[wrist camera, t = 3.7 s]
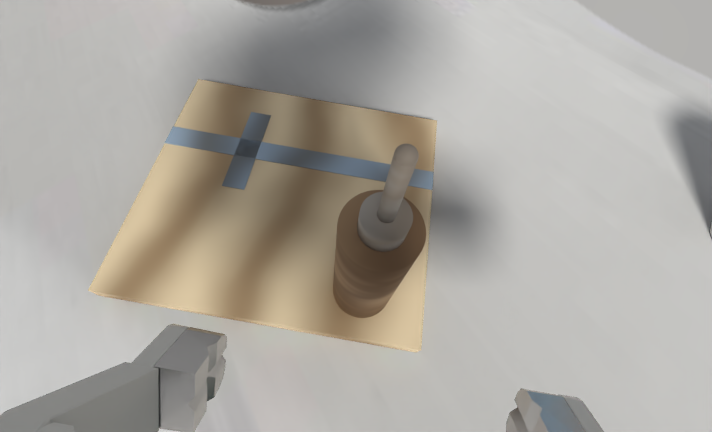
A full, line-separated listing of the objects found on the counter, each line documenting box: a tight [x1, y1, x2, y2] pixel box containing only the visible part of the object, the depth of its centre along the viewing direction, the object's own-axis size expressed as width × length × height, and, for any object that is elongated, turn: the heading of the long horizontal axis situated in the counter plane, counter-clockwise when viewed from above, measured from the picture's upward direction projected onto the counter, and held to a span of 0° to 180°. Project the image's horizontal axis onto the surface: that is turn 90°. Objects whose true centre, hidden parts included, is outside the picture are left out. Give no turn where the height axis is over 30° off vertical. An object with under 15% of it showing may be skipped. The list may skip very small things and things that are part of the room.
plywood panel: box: [88, 79, 437, 352], centre depth 25 cm, size 20×18×1 cm
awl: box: [333, 143, 426, 318], centre depth 16 cm, size 4×4×14 cm
